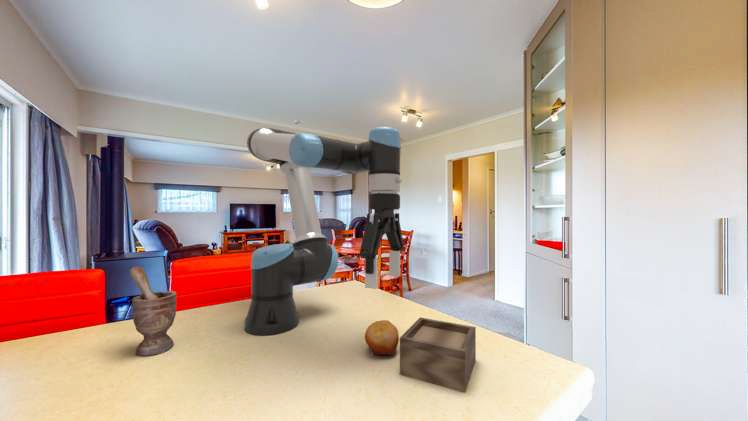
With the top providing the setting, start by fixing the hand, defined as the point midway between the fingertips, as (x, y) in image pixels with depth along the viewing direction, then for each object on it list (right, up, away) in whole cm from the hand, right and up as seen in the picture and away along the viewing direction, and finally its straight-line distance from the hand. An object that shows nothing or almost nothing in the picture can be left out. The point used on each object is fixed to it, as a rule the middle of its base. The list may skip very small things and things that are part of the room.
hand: (384, 281), depth 70 cm
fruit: (-1, -17, -1) cm, 17 cm away
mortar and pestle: (-57, -17, +1) cm, 60 cm away
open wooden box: (+12, -17, -7) cm, 22 cm away
